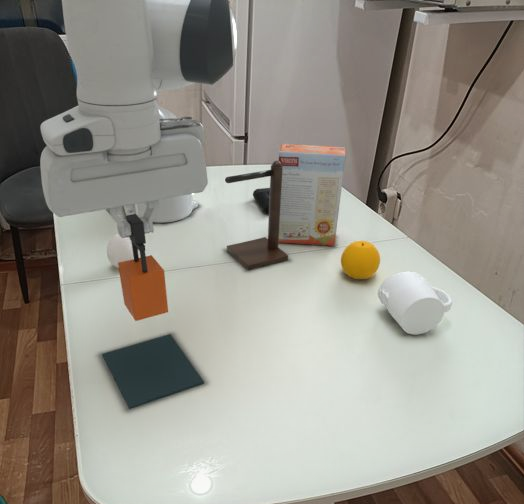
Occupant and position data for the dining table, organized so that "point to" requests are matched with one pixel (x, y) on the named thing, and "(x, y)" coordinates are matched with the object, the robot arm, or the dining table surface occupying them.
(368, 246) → the orange round ball
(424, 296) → the mug
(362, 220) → the dining table surface
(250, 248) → the hook stand
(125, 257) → the egg
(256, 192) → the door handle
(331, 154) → the cracker box
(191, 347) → the dining table surface
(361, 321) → the dining table surface
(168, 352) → the mat
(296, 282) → the dining table surface
